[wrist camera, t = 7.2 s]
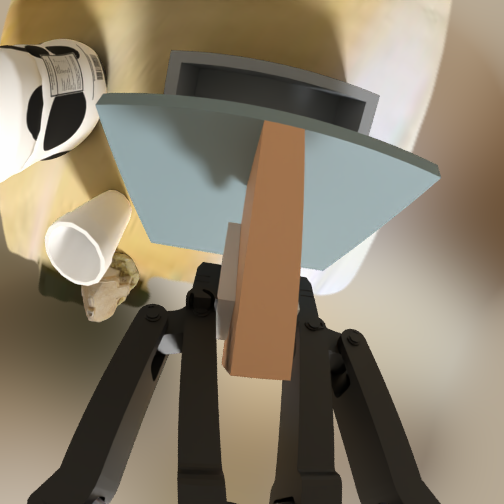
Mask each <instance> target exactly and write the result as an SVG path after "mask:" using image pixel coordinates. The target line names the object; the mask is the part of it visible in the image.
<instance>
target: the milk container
mask: <svg viewBox="0 0 504 504" xmlns="http://www.w3.org/2000/svg"><path fill="white" fill-rule="evenodd" d="M103 93H107V83H106V73H105V70H104V67H103V64H102V62H101V60H100V58H99V56H98V55H97V54H96V52H95V51H94V50H93V49H91V48H90V47H88V46H87V45H85V44H83V43H81V42H78V41H75V40H70V39H55V40H50V41H47V42H44V43H41V44H38V45H25V44H22V45H13V46H9V45H5V46H0V183H1V182H3V181H4V180H6V179H7V178H9V177H10V176H12V175H14V174H17V173H19V172H21V171H22V170H24V169H26V168H27V167H29V166H30V165H32V164H33V163H35V162H37V161H43V160H49V159H54V158H57V157H60V156H62V155H64V154H66V153H68V152H69V151H71V150H72V149H74V148H75V147H76V146H78V145H79V144H80V143H81V142H82V141H83V140H84V139H85V138H86V137H87V136H88V135H89V134H90V133H91V132H92V130H93V129H94V127H95V126H96V124H97V122H98V120H99V115H98V112H97V109H96V106H95V104H96V103H97V102H98V100H99V99H100V97H101V96H102V94H103Z"/></svg>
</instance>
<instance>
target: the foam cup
mask: <svg viewBox="0 0 504 504" xmlns="http://www.w3.org/2000/svg"><path fill="white" fill-rule="evenodd" d="M131 211H132V209H131V206H130V202H129V201H128V199H127V198H126V197H125V195H124V194H122V193H120V192H118V191H116V190H107V191H105V192H103V193H102V194H100V195H98V196H96V197H94V198H93V199H91V200H89V201H88V202H86V203H84V204H83V205H81V206H79V207H78V208H76V209H75V210H73V211H71V212H68V213H66V214H65V215H63V216H61V217H60V218H58V219H57V220H56V221H55V222H54V223H53V224H52V225H51V226H50V227H49V228H48V231H47V233H46V236H45V246H46V252H47V254H48V256H49V259H50V261H51V263H52V265H53V266H54V267H55V268H56V269H57V270H58V271H59V272H60V273H61V275H62V276H64V277H65V278H67V279H69V280H70V281H72V282H74V283H76V284H81V285H86V286H89V285H92V284H96V283H98V282H99V281H100V280H101V278H102V277H103V275H104V274H105V272H106V271H107V269H108V268H109V266H110V264H111V263H112V257H113V255H114V252H115V250H116V248H117V246H118V243H119V241H120V239H121V237H122V235H123V232H124V230H125V228H126V226H127V224H128V222H129V220H130V218H131Z"/></svg>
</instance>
